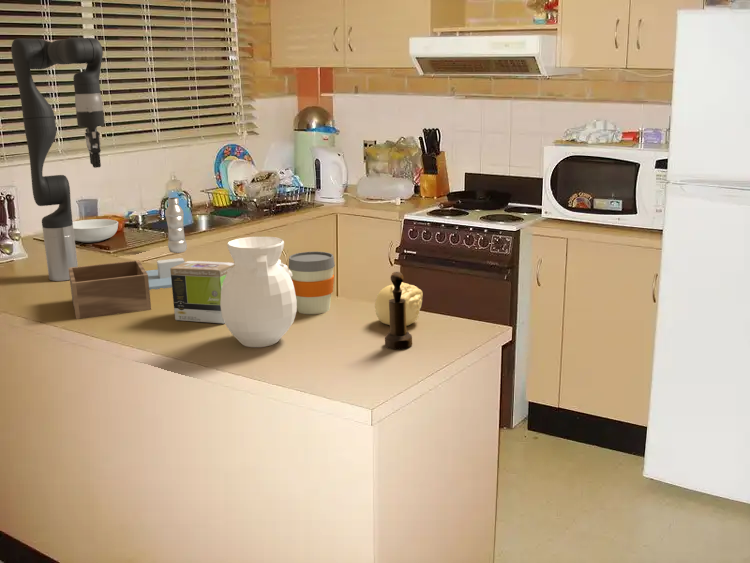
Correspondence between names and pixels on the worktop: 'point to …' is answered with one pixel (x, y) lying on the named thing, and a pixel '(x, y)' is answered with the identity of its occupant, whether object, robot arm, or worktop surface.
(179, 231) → the plastic bottle
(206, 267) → the tea box
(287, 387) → the worktop surface
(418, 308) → the sculpture
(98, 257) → the worktop surface
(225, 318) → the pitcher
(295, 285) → the reusable coffee cup
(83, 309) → the box
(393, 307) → the dark brown tall piece
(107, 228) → the serving bowl
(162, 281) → the lid
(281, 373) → the worktop surface
